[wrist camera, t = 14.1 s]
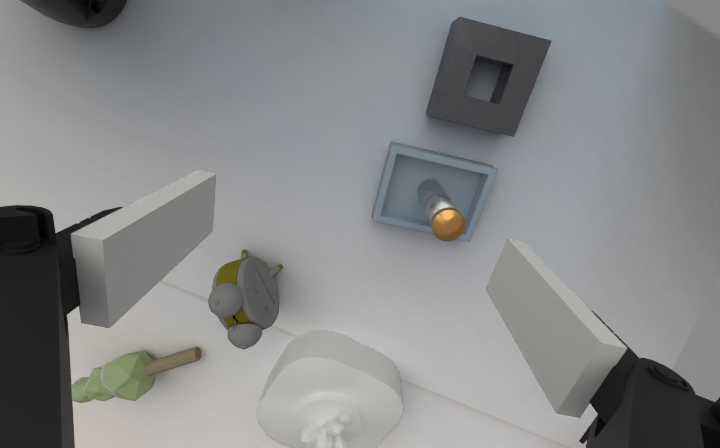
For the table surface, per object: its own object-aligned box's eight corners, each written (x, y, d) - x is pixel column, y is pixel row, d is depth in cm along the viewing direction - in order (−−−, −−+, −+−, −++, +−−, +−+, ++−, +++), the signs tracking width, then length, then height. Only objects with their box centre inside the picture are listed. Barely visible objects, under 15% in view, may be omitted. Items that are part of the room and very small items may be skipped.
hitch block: (425, 114, 50) (430, 116, 46) (452, 22, 45) (459, 16, 41) (503, 133, 50) (513, 136, 47) (536, 44, 46) (551, 40, 42)
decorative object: (185, 327, 65) (53, 368, 63) (188, 379, 61) (47, 425, 59) (206, 333, 73) (89, 370, 71) (211, 380, 69) (86, 420, 67)
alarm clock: (234, 248, 59) (191, 298, 45) (269, 236, 58) (237, 284, 44) (262, 301, 63) (232, 362, 49) (296, 291, 62) (274, 351, 48)
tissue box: (306, 315, 64) (287, 384, 50) (415, 368, 69) (428, 447, 54) (254, 396, 73) (224, 476, 58) (354, 438, 77) (350, 523, 62)
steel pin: (421, 176, 53) (438, 207, 40) (446, 182, 53) (470, 214, 40) (414, 200, 54) (427, 237, 41) (438, 205, 54) (459, 243, 41)
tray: (372, 213, 56) (372, 220, 53) (390, 141, 51) (391, 144, 48) (464, 234, 57) (469, 241, 54) (491, 165, 52) (497, 169, 49)
